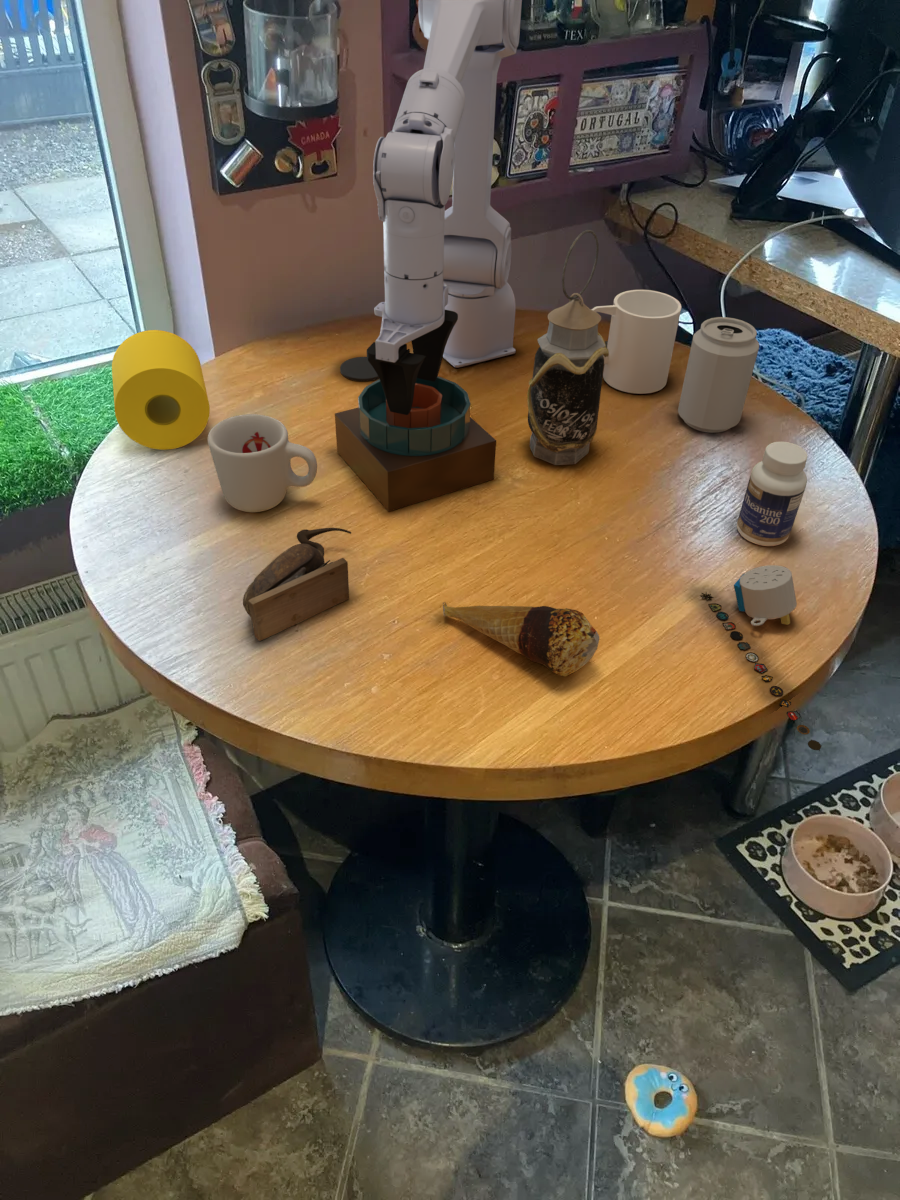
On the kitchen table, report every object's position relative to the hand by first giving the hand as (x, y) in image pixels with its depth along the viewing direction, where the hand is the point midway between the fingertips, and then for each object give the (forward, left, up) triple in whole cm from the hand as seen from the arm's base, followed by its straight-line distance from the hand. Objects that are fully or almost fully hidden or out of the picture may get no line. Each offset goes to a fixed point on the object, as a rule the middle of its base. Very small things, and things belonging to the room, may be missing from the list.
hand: (413, 394), depth 99 cm
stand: (0, 0, -9) cm, 9 cm away
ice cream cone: (+9, +23, -8) cm, 26 cm away
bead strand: (-13, +42, -9) cm, 45 cm away
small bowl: (0, 0, -3) cm, 3 cm away
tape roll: (+23, -15, -4) cm, 28 cm away
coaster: (-5, -23, -9) cm, 25 cm away
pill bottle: (-26, +28, -9) cm, 39 cm away
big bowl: (0, 0, -4) cm, 4 cm away
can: (-36, +8, -9) cm, 38 cm away
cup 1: (+17, -1, -9) cm, 19 cm away
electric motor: (-16, +35, -8) cm, 39 cm away
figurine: (+19, +18, -7) cm, 27 cm away
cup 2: (-33, -5, -9) cm, 35 cm away
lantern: (-16, +5, -9) cm, 19 cm away
